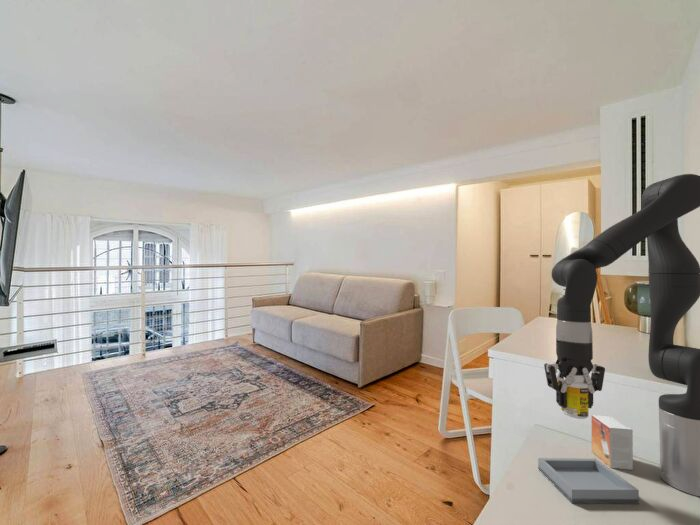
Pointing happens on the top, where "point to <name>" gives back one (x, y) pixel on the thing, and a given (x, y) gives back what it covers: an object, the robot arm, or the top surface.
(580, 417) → the supplement bottle
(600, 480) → the slate tray
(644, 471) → the top surface
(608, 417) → the small box
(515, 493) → the top surface
